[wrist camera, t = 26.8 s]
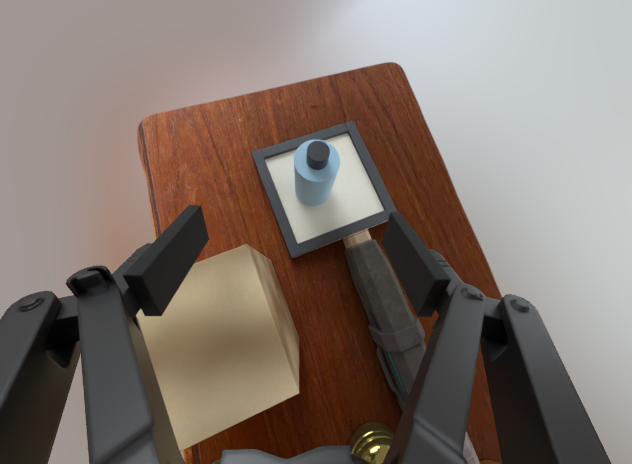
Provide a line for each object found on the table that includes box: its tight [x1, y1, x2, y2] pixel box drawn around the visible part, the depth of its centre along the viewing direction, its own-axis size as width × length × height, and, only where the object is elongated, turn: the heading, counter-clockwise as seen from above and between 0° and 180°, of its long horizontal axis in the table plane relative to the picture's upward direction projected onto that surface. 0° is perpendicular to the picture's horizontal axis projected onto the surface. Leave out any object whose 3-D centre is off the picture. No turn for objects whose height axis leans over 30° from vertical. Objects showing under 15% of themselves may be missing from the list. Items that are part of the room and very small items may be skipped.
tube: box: [343, 229, 480, 464], centre depth 30 cm, size 11×7×30 cm
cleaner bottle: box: [294, 140, 340, 206], centre depth 30 cm, size 6×6×11 cm
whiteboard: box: [251, 120, 398, 259], centre depth 36 cm, size 18×18×2 cm
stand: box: [136, 244, 299, 451], centre depth 25 cm, size 12×12×16 cm
